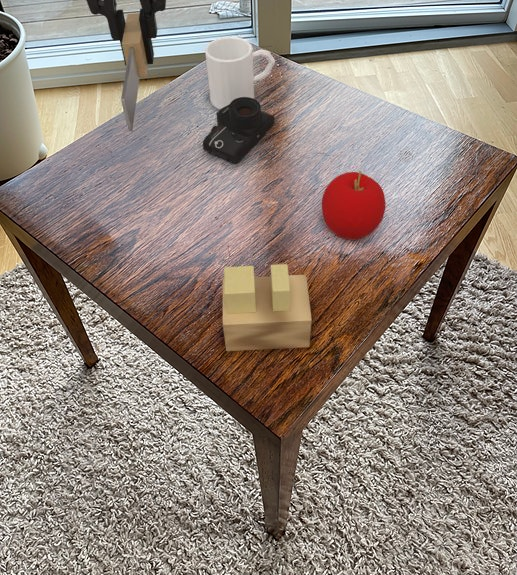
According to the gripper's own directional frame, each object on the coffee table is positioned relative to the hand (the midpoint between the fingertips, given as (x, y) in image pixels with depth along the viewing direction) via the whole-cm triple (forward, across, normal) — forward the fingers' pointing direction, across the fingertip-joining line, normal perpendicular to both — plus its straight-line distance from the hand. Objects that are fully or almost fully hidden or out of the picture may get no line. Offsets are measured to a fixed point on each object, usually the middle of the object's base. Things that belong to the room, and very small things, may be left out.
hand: (139, 59), depth 81 cm
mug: (+18, -14, -17) cm, 29 cm away
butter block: (+12, -12, +34) cm, 39 cm away
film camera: (+18, -13, -5) cm, 23 cm away
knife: (0, 0, +6) cm, 6 cm away
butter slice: (+12, -17, +34) cm, 40 cm away
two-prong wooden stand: (+18, -16, +34) cm, 42 cm away
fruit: (+18, -29, +18) cm, 38 cm away
